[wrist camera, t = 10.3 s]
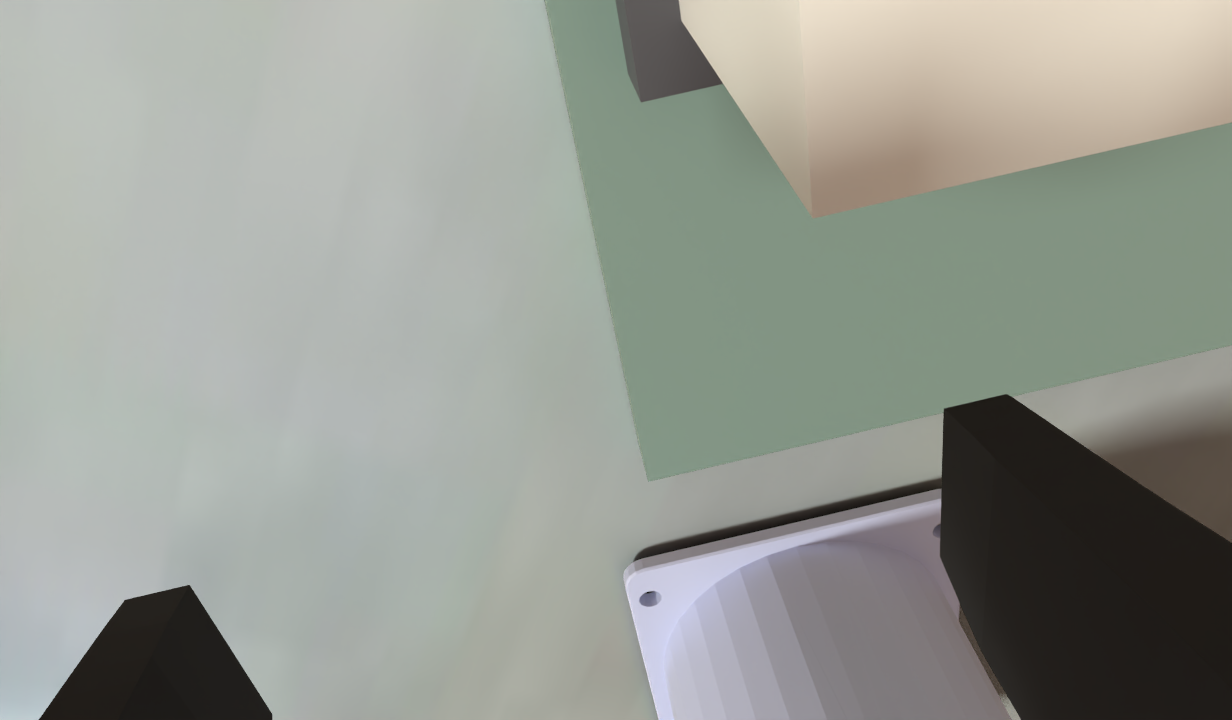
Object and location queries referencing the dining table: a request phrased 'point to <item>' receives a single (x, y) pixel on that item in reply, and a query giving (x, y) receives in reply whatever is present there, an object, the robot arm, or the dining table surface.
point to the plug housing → (959, 84)
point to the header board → (862, 261)
